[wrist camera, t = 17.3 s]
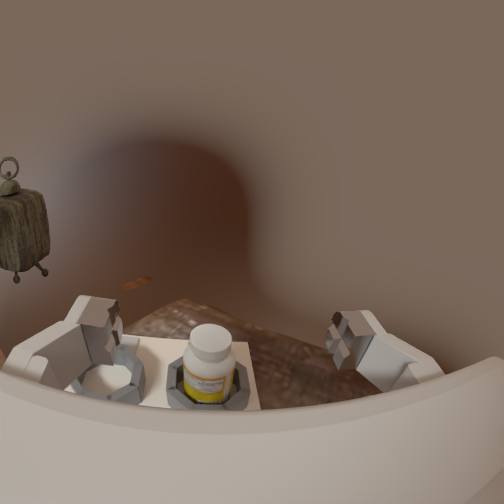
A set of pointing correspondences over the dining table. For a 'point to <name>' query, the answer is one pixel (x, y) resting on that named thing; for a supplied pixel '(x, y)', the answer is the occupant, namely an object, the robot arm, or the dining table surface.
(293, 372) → the dining table surface
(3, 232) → the tabletop clock
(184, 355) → the supplement bottle
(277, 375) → the dining table surface
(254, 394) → the socket board
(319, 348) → the dining table surface
